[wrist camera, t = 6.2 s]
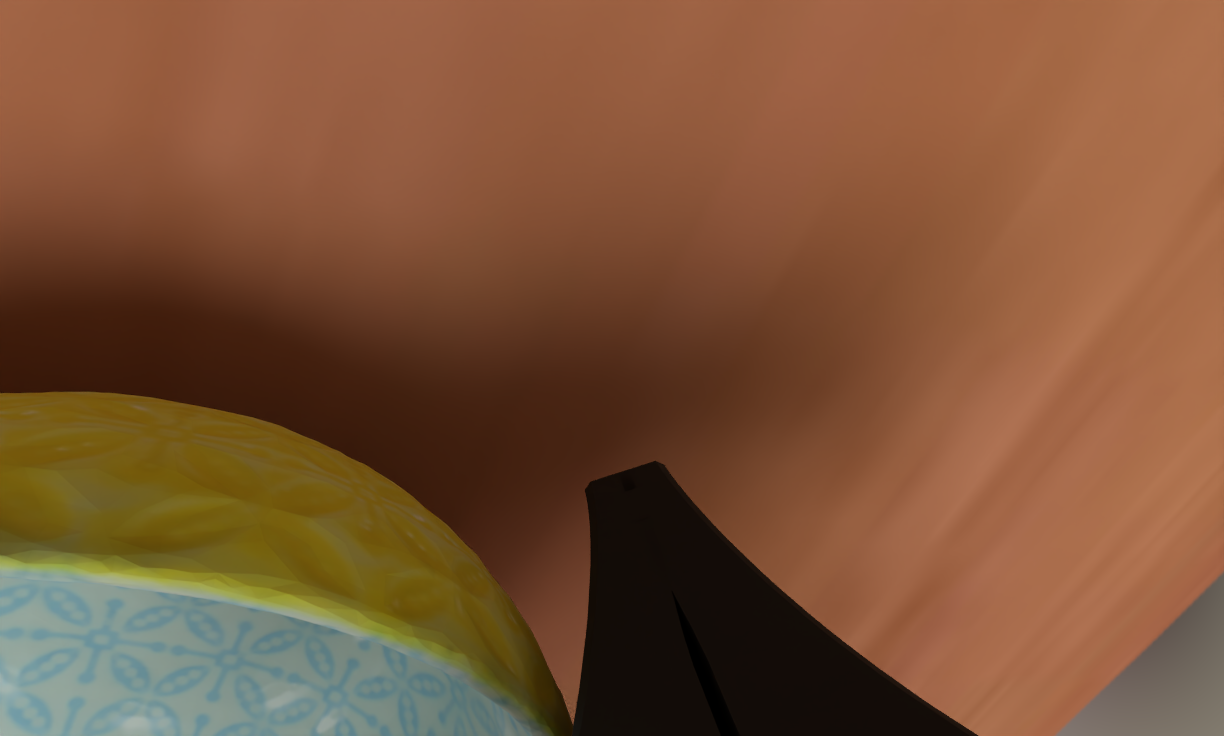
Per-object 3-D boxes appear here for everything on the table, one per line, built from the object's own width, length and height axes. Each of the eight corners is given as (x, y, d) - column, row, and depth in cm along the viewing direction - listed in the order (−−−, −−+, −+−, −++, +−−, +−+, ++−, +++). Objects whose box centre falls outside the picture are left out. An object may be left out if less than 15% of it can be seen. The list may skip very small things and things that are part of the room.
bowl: (-14, -5, 8) (-873, 139, 3) (648, 475, 14) (784, 801, 9) (-416, 601, 10) (-1247, 1276, 5) (292, 781, 16) (234, 1172, 11)
